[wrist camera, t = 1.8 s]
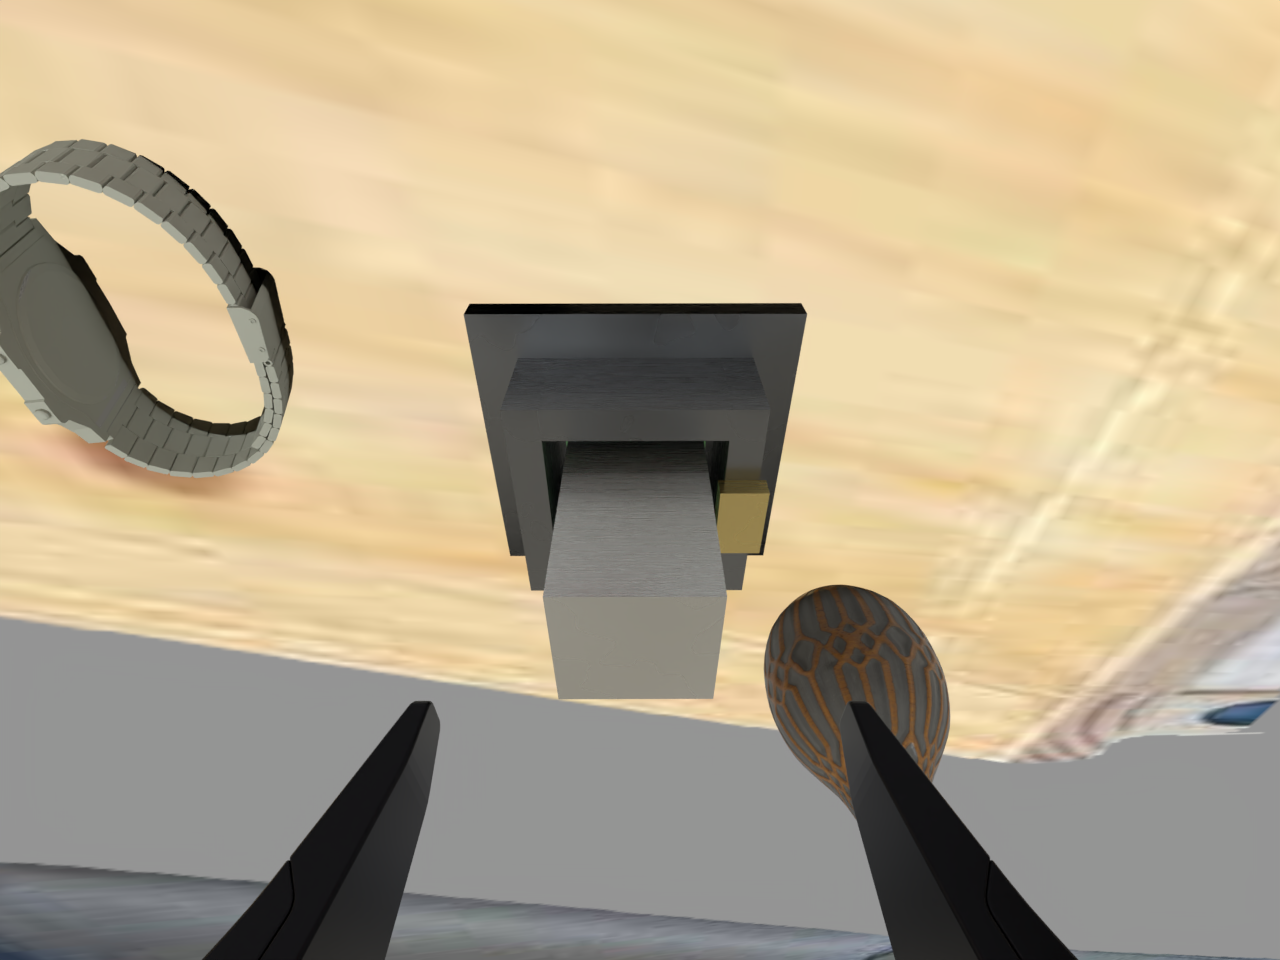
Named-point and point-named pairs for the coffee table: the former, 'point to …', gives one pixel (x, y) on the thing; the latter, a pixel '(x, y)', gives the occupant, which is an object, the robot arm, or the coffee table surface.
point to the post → (635, 573)
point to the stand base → (636, 403)
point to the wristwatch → (94, 337)
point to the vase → (853, 679)
